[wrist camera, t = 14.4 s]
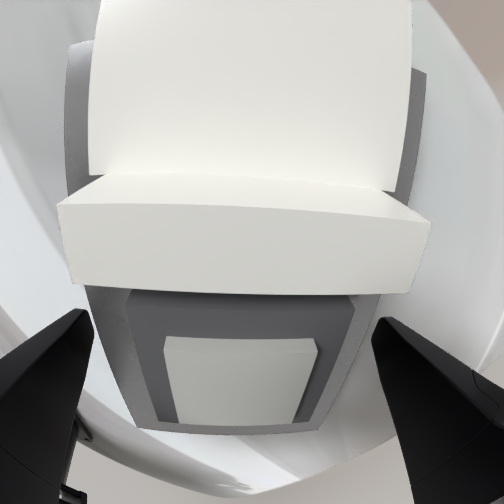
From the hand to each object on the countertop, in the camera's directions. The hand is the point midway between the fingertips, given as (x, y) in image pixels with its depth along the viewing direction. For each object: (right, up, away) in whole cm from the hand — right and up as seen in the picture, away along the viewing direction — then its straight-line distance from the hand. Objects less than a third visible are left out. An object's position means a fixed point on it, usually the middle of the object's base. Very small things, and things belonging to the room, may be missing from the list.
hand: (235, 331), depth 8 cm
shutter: (0, +7, -2) cm, 7 cm away
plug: (0, +1, +3) cm, 3 cm away
